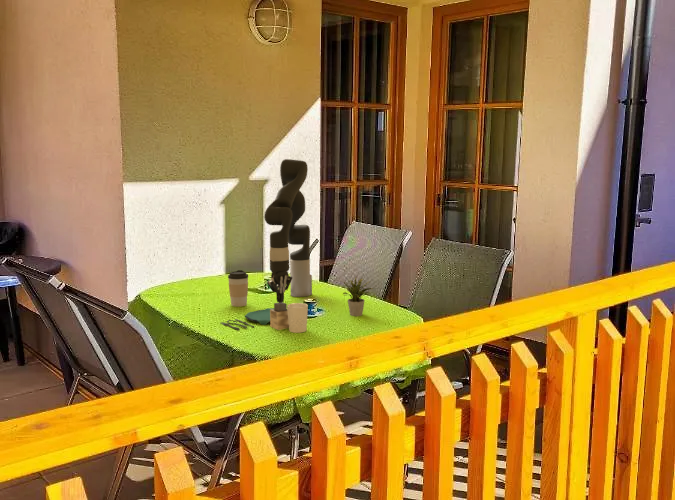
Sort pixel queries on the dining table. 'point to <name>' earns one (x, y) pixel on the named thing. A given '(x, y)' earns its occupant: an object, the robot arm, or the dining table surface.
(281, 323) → the button box
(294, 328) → the tan cylinder
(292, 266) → the robot arm
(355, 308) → the house plant
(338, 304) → the dining table surface
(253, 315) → the cutlery set
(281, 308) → the button cap
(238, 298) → the coffee cup
